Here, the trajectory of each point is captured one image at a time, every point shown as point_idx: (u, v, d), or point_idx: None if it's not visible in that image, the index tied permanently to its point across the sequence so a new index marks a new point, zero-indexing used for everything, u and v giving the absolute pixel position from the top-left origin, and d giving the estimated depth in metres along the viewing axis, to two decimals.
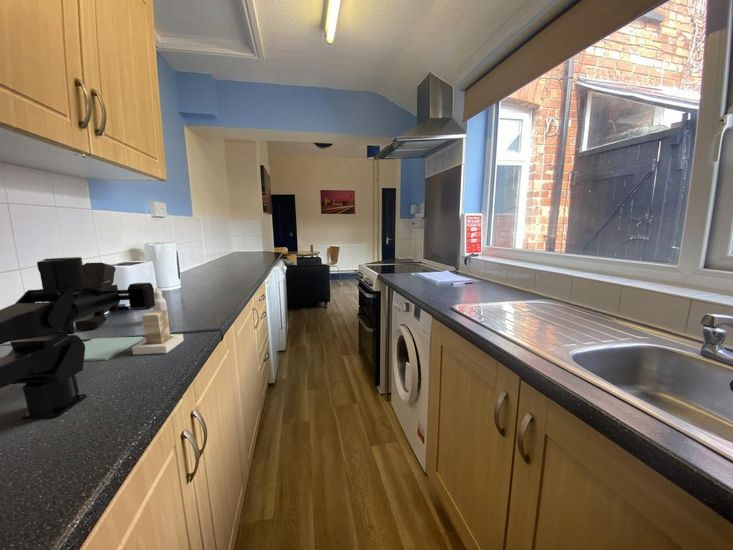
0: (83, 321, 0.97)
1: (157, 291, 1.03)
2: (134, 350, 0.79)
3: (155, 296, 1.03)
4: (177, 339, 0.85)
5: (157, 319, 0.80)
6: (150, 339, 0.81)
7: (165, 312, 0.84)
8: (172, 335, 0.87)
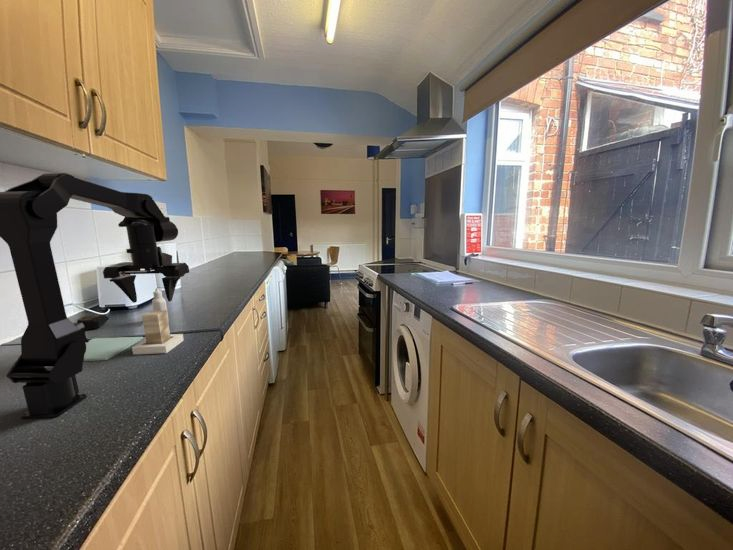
0: (85, 321, 0.97)
1: (157, 291, 1.03)
2: (134, 350, 0.79)
3: (155, 296, 1.03)
4: (177, 339, 0.85)
5: (157, 319, 0.80)
6: (150, 339, 0.81)
7: (165, 312, 0.84)
8: (172, 335, 0.87)
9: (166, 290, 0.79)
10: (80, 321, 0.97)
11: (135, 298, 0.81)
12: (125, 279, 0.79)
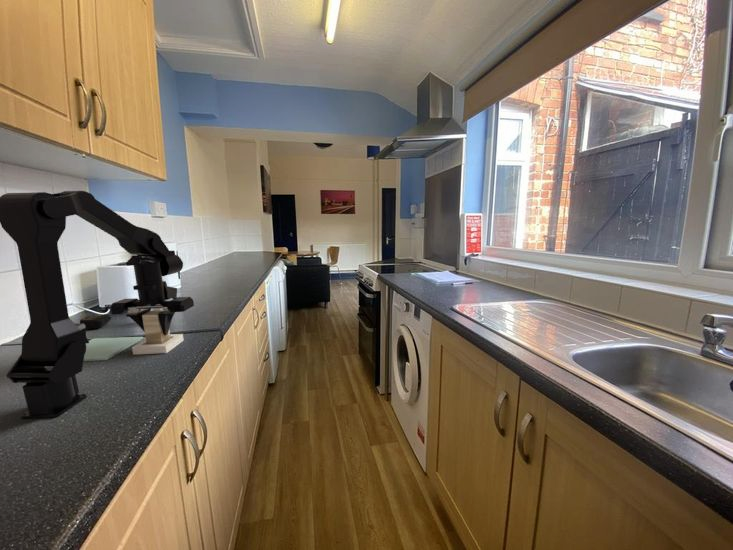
0: (88, 320, 0.97)
1: None
2: (134, 350, 0.79)
3: None
4: (177, 339, 0.85)
5: (157, 319, 0.80)
6: (150, 339, 0.81)
7: None
8: (172, 335, 0.87)
9: (162, 325, 0.81)
10: (83, 321, 0.97)
11: None
12: (141, 314, 0.81)
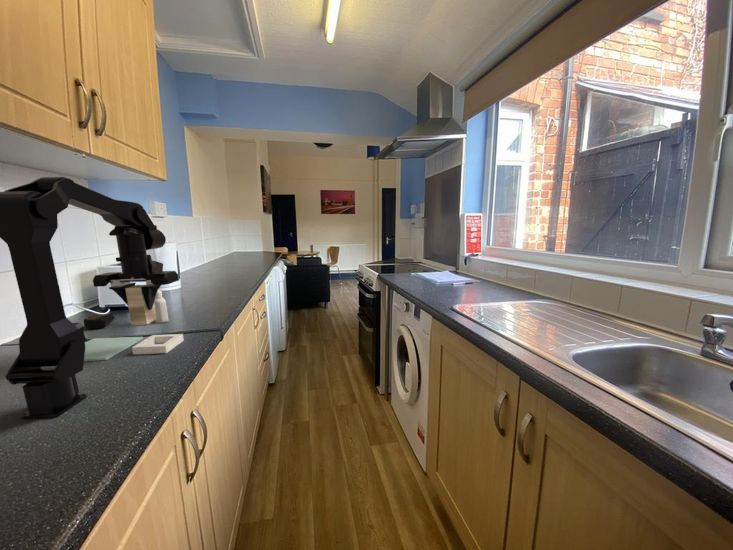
0: (92, 320, 0.98)
1: (157, 291, 1.03)
2: (134, 350, 0.79)
3: None
4: (177, 339, 0.85)
5: (140, 292, 0.79)
6: (134, 313, 0.80)
7: None
8: (172, 335, 0.87)
9: (146, 298, 0.79)
10: (87, 320, 0.98)
11: None
12: (124, 287, 0.79)
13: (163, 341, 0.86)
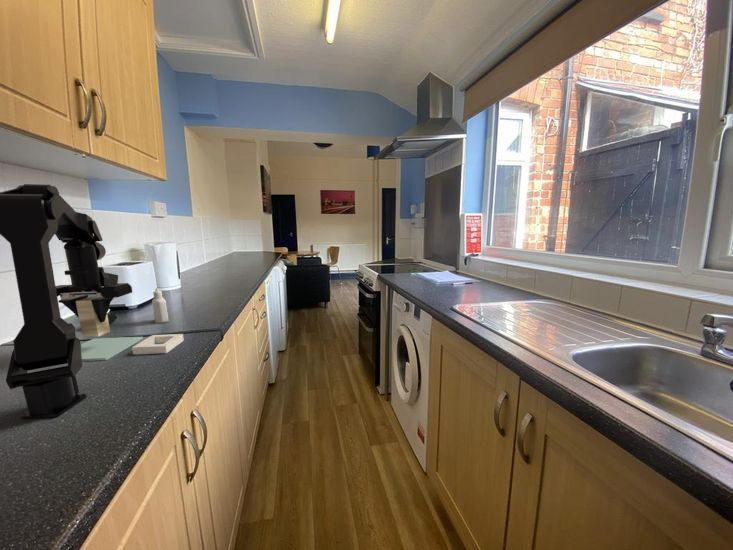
0: None
1: (157, 291, 1.03)
2: (134, 350, 0.79)
3: (155, 296, 1.03)
4: (177, 339, 0.85)
5: (91, 305, 0.79)
6: (85, 326, 0.79)
7: None
8: (172, 335, 0.87)
9: (97, 311, 0.79)
10: None
11: None
12: (75, 300, 0.79)
13: (163, 341, 0.86)
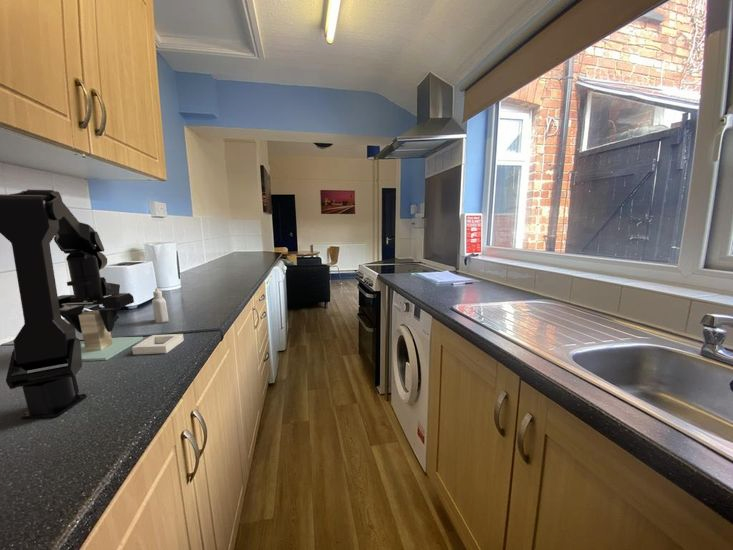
0: None
1: (157, 291, 1.03)
2: (134, 350, 0.79)
3: (155, 296, 1.03)
4: (177, 339, 0.85)
5: (94, 318, 0.79)
6: (88, 339, 0.80)
7: None
8: (172, 335, 0.87)
9: (104, 321, 0.80)
10: None
11: None
12: (71, 310, 0.79)
13: (163, 341, 0.86)
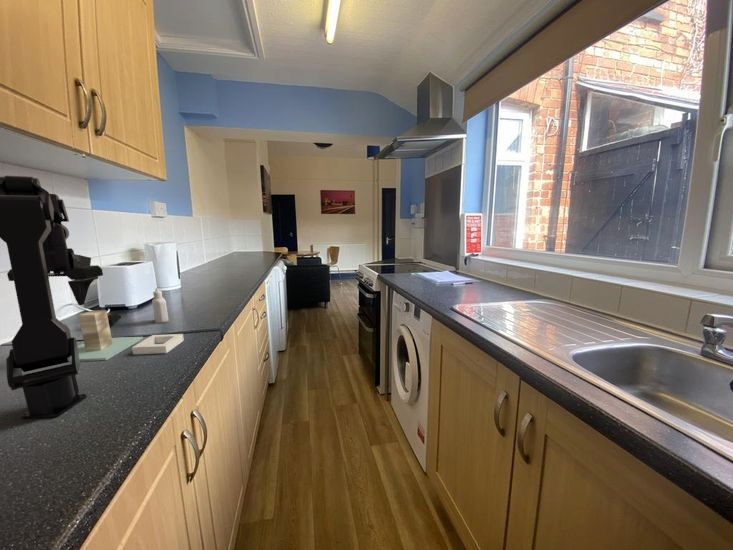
0: None
1: (157, 291, 1.03)
2: (134, 350, 0.79)
3: (155, 296, 1.03)
4: (177, 339, 0.85)
5: (94, 318, 0.79)
6: (88, 339, 0.80)
7: (105, 312, 0.83)
8: (172, 335, 0.87)
9: (75, 294, 0.76)
10: None
11: None
12: None
13: (163, 341, 0.86)
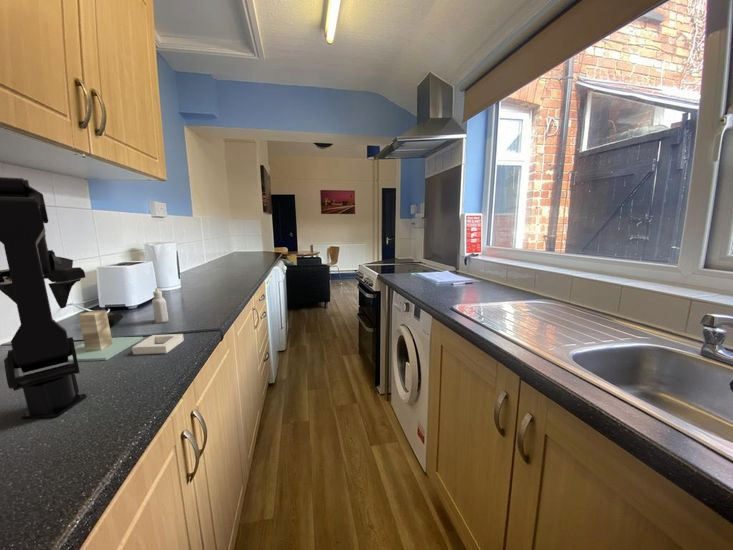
0: None
1: (157, 291, 1.03)
2: (134, 350, 0.79)
3: (155, 296, 1.03)
4: (177, 339, 0.85)
5: (94, 318, 0.79)
6: (88, 339, 0.80)
7: (105, 312, 0.83)
8: (172, 335, 0.87)
9: (56, 296, 0.75)
10: None
11: None
12: (11, 285, 0.74)
13: (163, 341, 0.86)
